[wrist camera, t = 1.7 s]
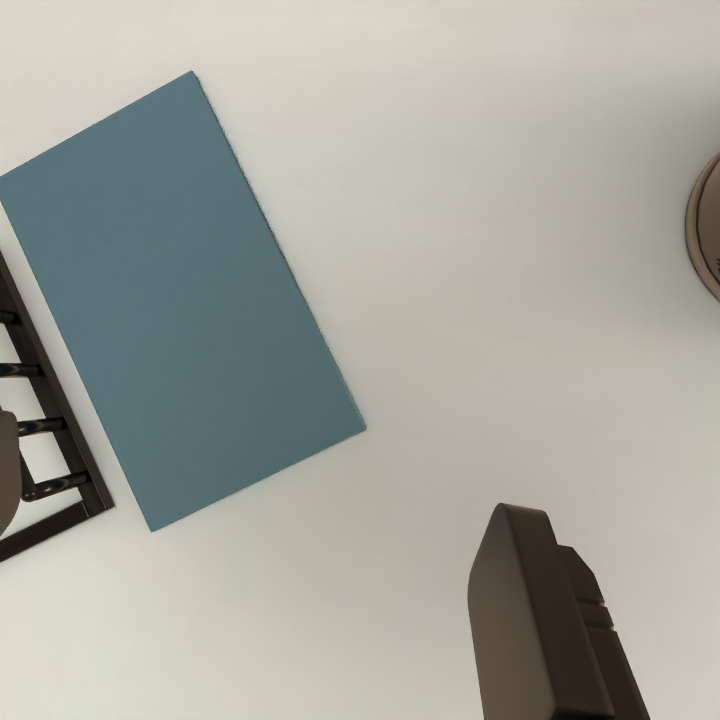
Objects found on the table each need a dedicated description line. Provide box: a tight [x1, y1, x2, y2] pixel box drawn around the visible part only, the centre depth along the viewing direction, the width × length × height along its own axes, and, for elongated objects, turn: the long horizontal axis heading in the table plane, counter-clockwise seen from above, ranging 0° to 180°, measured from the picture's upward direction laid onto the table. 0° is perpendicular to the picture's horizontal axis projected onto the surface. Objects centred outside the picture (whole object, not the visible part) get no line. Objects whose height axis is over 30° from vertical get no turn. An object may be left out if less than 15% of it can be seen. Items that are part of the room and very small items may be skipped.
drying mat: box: [0, 71, 366, 532], centre depth 31 cm, size 20×12×1 cm, turn 26°
